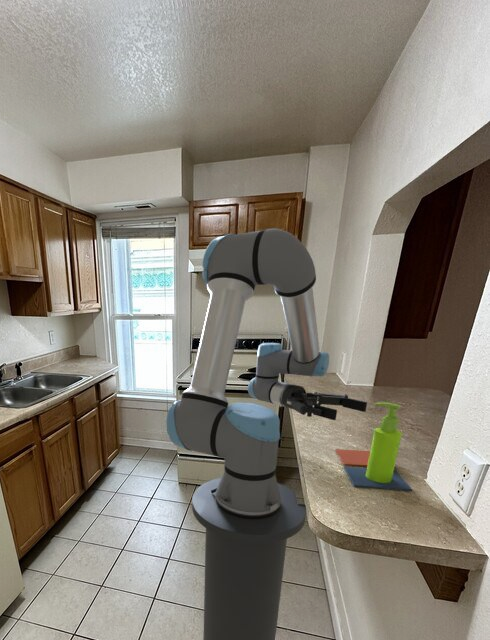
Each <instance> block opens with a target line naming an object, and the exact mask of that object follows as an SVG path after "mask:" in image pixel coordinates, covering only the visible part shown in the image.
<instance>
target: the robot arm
mask: <svg viewBox="0 0 490 640" xmlns="http://www.w3.org/2000/svg"><path fill="white" fill-rule="evenodd" d="M201 263H202V266H201V267H202V269H203V270H202V278H203V281H204V283H205V284H206V289H207V291H208V292H209V294H210V297H209V298H210V299H209V303H208V307H207V312H206V316H205V321H204V325H203V329H202V333H201V338H200V341H199V342H200V343H199V345H198V349H197V350H198V351H197V356H196V360H195V363H194V368H193V373H192V377H191V381H190V386H189V388H187V389H185V390H183V392H182V393H181V398H180V400H176V401H174V402H173V403H172V404H171V406H169V409H168V411H167V415H166V423H165V424H166V431H167V435H168V437H169V440H170V441H171V443H172V444H173V445H174V446H177V447H178V448H182V449H185V450H186V451H190V452H197V453H199V454H200V453H201V454H204V455H209V456H212V457H218V458H221V459H224V467H223V473H222V475H221V477H220V478H221V480H220V482H219V485H218V487H217V488H216V489H213V490H211V493H214V492H216V503H217V505H218V506H219V508H221V509H222V510H223V511H225V512H226V513H228V514H230V515H233V516H236V517H240V518H245V519H262V518H267V517H270V516H272V515H274V514H276V513H277V512H278V511H279V509H280V506H281V495H280V491H279V488H278V484H277V483H278V481H277V480H278V479H277V475H276V473H277V472H276V471H277V462H278V451H279V443H280V442H279V441H280V438H281V430H280V428H281V427H280V424H281V422H280V421H281V420H280V418H279V415H278V414H277V413H276V412H275V411H273V410H272V409H270V408H269V407H266V406H264V405H261V404H257V403H251V402H246V403H245V402H233V403H230V402H229V400H228V399H227V397H226V395H225V393H226V388H227V384H228V379H229V375H230V372H231V371H230V370H231V366H232V361H233V357H234V353H235V347H236V345H237V340H238V336H239V331H240V327H241V322H242V317H243V314H244V309H245V305H246V302H247V301H248V300H250V299H251V298H253V296H254V293H255V288H256V286H263V285H271V286H273V288H274V292H275V294H276V295H277V296H278V297H280V301H281V304H282V309H283V314H284V319H285V323H286V328H287V333H288V337H289V342H290V346H291V349H290V350H289V349H283V346H282V344H281V343H280V342H263V343H262V342H261V343H260V344H259V345H258V348H257V355H256V368H255V369H256V370H255V371H256V372H255V377H253V378H252V379H251V380H250V381H249V383H248V386H247V392H248V395H249V396H250V397H251V398H253V399H256V400H258V401H261V402H266V403H270V404H274V405H277V406H278V407H279V408H282V407H285V408H287V409H290V410H294V411H295V412H297V413H299V414H300V415H303V416H305V415H306V417H307V418H310V417H312V416H316V417H317V416H318V417H321V418H325V419H328V420H332V421H336V420H337V415H338V409H335V408H330V407H327V405H328V406H342V408H345V409H350V410H354V411H358V412H364V413H366V412H367V407H368V406H367V405H368V402H367V401H363V400H359V399H353V398H350V397H349V395H348V394H344V395H343V394H333V393H325V392H324V393H323V392H317V391H315V392H307V391H306V389H305V388H304V386H302V385H297V384H292V383H288V382H283V381H279V378H280V374H283V375H295V376H304V377H310V378H312V377H320V378H321V377H324V376H325V375H326V374H327V373H328V369H329V366H330V355H329V353H328V352H326V351H321V350H320V342H319V333H318V324H317V323H318V322H317V316H316V307H315V298H314V290H313V287H314V286H315V284H316V282H317V274H316V267H315V264H314V261H313V258H312V255H311V254H310V252H309V250H308V249H307V248H306V246H305V245H304V244H303V243H302V241H301V240H299V238H297V237H296V236H295V235H294V234H292V233H291V232H289V231H286V230H284V229H280V228H267V229H262V230H257V231H249V232H243V233H237V234H235V233H228V234H225V235H223V236H217V237H216V238H214V239H212V240H211V241H210V242H209V244H208V246H207V247H206V249H205V251H204V255H203V258H202V262H201ZM229 403H230V404H229ZM323 405H325V406H323Z"/></svg>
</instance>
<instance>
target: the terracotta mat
mask: <svg viewBox="0 0 490 640" xmlns="http://www.w3.org/2000/svg"><path fill="white" fill-rule="evenodd" d="M335 452H336V454H337V455H338V457H339V459H340V461H341V462H342V464H343V466H348V467H363V468H367V466H368V460H369V455H370V450H355V449H341V448H340V449H339V448H338V449H337V448H336V449H335ZM394 469H395V466H394Z"/></svg>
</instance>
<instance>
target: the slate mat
mask: <svg viewBox="0 0 490 640" xmlns="http://www.w3.org/2000/svg"><path fill="white" fill-rule="evenodd" d="M343 469H344V471H345V472H346V474H347V476H348V478H349V480H350V481H351V483H352V485H353V486H354V487H355V488H356V487H357V488H367V489H379V490H393V491H406V492H413V489H412V488H411V486H410V485H409V484H408V482H406V480H405V479H404V478H403V477H402V476H401V475H400V474H399V473H398V471H397V470H396V469H394V471H393V475H392V480H391V482H388V483H379V482H375V481H372V480H370V479H368V478H367V477H366V471H367V467H359V466H343Z"/></svg>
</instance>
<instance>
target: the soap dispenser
mask: <svg viewBox="0 0 490 640" xmlns="http://www.w3.org/2000/svg"><path fill="white" fill-rule="evenodd" d="M374 406H375V407H386V408H388V411H387V414H386V415H383V416H382V420H381V423H380V424H381V425H380V426H379V427H375V428H374V430H373V435H372V440H371V446H370V450H369V451H370V455H369V460H368V466H367V467H366V468H367V471H366V477H367V478H368V479H370V480H372V481H375V482H379V483H388V482H391V480H392V475H393V471H394V470H395V468H394V467H395V466H396V462H397V457H398V453H399V448H400V444H401V440H402V435H403V432H402V431H401V430H399V429H398V424H399V420H400V418H399V417H397V410H399V409H401V408H402V405H401V404H397V403H393V402H386V401H379V402H376V403H374Z"/></svg>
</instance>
